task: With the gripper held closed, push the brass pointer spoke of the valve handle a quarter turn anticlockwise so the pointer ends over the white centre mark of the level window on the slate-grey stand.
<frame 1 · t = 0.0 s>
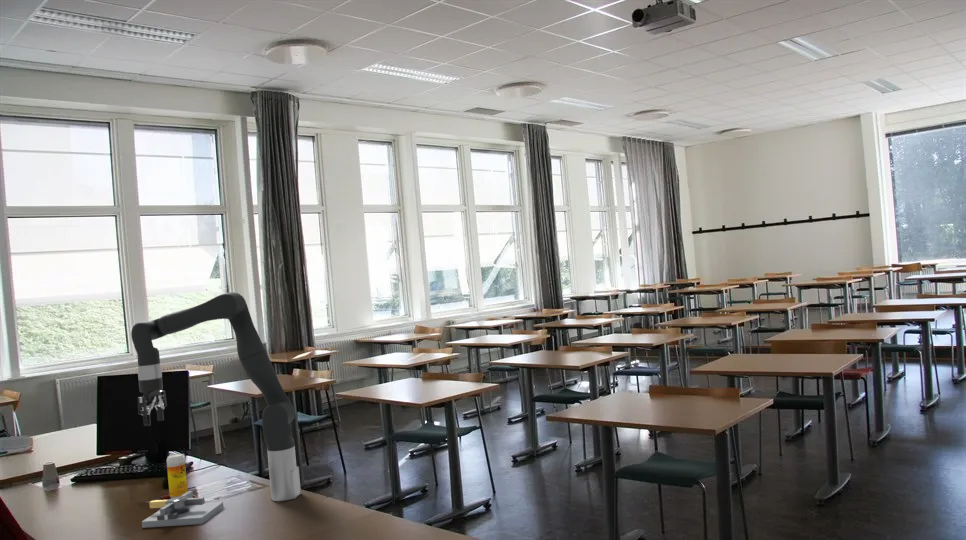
hand: (154, 423, 242), 29 cm above the table, fingers open, 8 cm apart
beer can: (178, 496, 252), on the table
stand: (184, 517, 227), on the table
valve handle: (177, 505, 227), point 4 cm above the table, hinge at 0.0°
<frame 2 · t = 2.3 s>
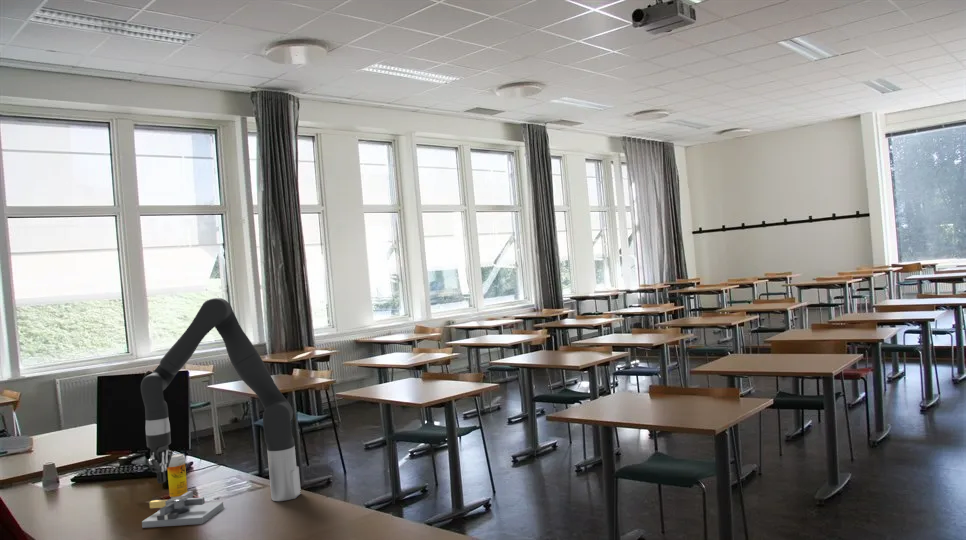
hand: (161, 482, 233), 10 cm above the table, fingers closed
nothing on the table moved.
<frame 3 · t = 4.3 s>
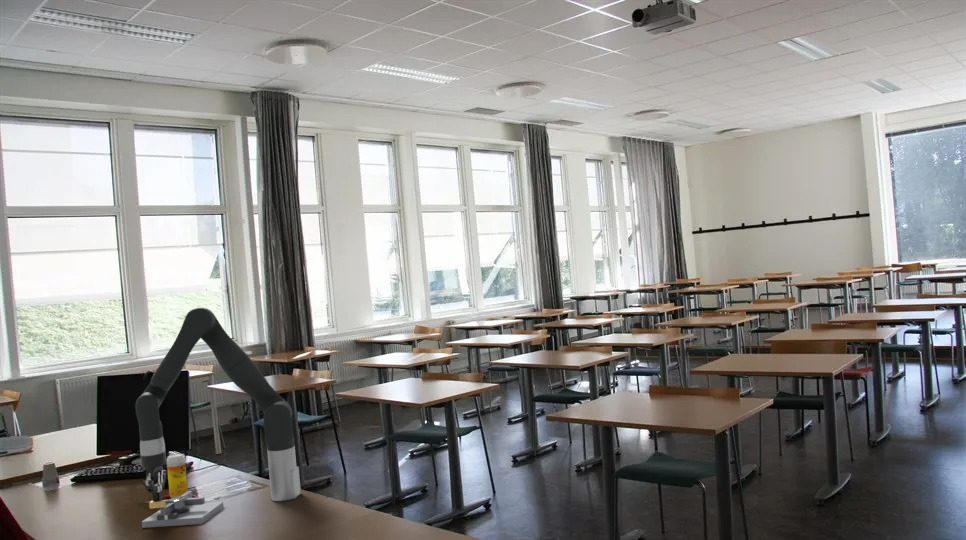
hand: (157, 503, 230), 5 cm above the table, fingers closed
valve handle: (177, 505, 227), point 4 cm above the table, hinge at 1.2°, touching gripper
everything else where it was.
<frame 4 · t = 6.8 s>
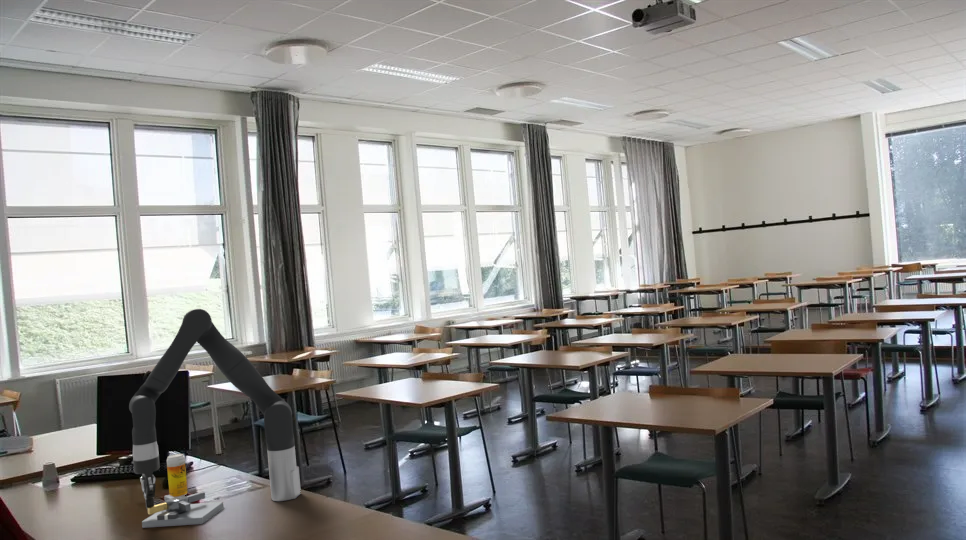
hand: (150, 509, 223), 5 cm above the table, fingers closed
valve handle: (177, 505, 227), point 4 cm above the table, hinge at 49.3°, touching gripper
everything else where it was.
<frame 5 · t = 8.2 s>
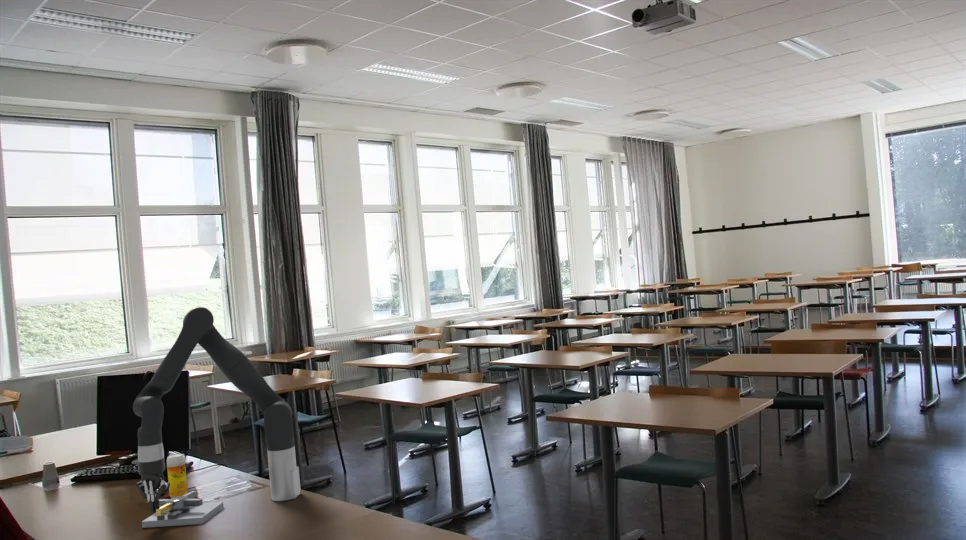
hand: (154, 512, 220), 5 cm above the table, fingers closed
valve handle: (177, 505, 227), point 4 cm above the table, hinge at 81.1°, touching gripper
everything else where it was.
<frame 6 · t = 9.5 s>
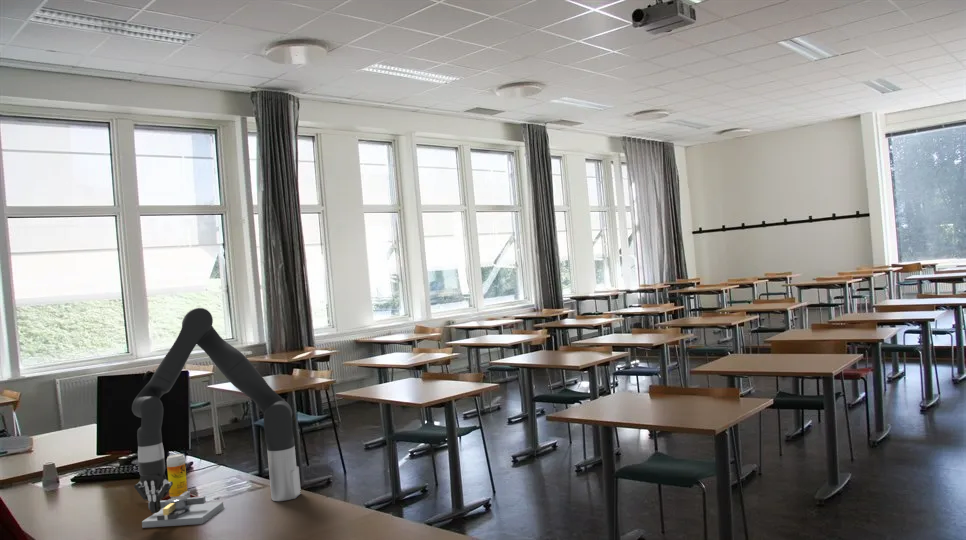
hand: (155, 512, 220), 5 cm above the table, fingers closed
valve handle: (177, 505, 227), point 4 cm above the table, hinge at 96.5°
everything else where it was.
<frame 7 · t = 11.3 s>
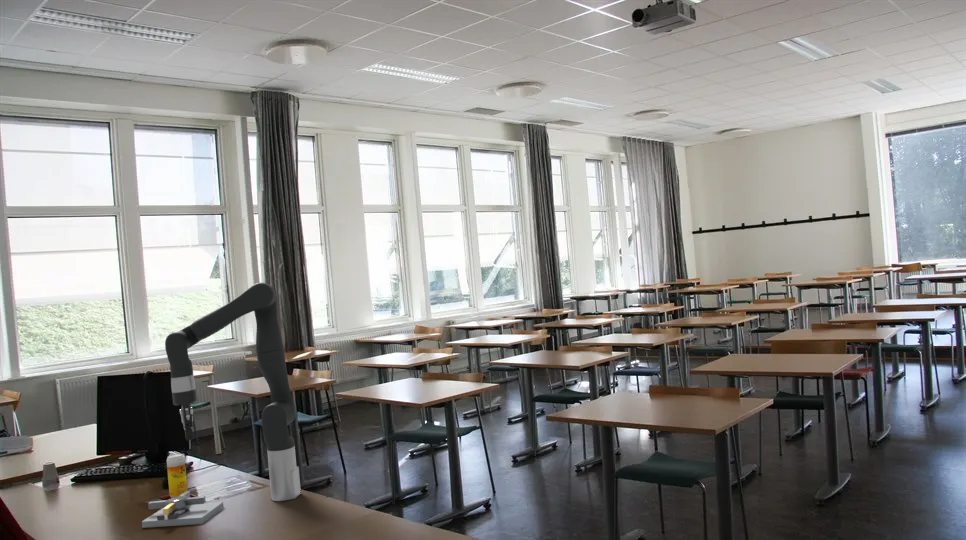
hand: (189, 439, 235), 24 cm above the table, fingers closed
nothing on the table moved.
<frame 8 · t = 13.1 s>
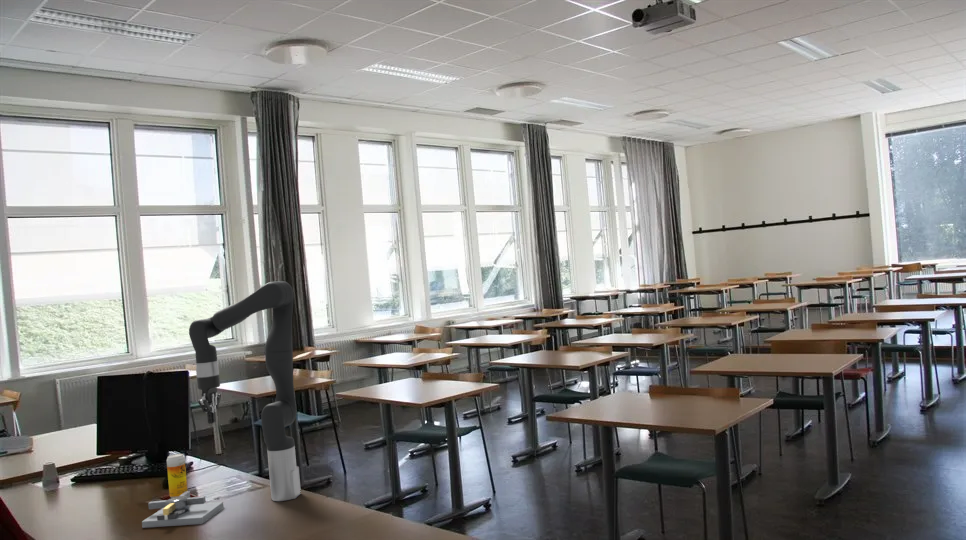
hand: (212, 423, 245), 27 cm above the table, fingers closed
nothing on the table moved.
at the end: valve handle at +96° (first picture: +0°) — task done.
